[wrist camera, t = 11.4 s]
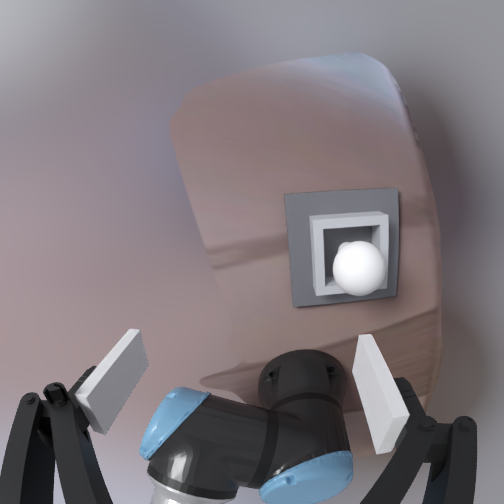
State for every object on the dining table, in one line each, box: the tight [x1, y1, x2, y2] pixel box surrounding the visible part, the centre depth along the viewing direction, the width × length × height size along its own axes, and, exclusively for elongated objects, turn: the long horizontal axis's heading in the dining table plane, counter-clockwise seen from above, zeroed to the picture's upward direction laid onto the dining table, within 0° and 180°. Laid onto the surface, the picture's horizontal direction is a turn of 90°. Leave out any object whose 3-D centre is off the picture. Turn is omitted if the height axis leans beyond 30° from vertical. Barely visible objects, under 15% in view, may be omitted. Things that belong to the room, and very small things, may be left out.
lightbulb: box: [333, 241, 386, 296], centre depth 33 cm, size 6×6×11 cm
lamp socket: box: [284, 188, 399, 307], centre depth 37 cm, size 16×16×5 cm
